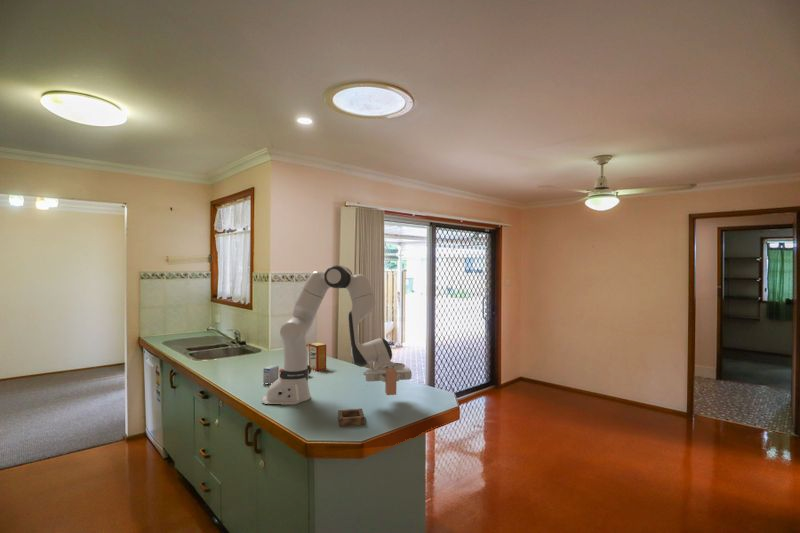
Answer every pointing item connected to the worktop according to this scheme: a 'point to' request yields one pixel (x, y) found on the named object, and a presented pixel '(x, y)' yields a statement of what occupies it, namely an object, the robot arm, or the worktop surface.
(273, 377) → the medicine box
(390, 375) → the salmon orange rectangular block
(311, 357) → the baking soda box
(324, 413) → the worktop surface
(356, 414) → the walnut well
